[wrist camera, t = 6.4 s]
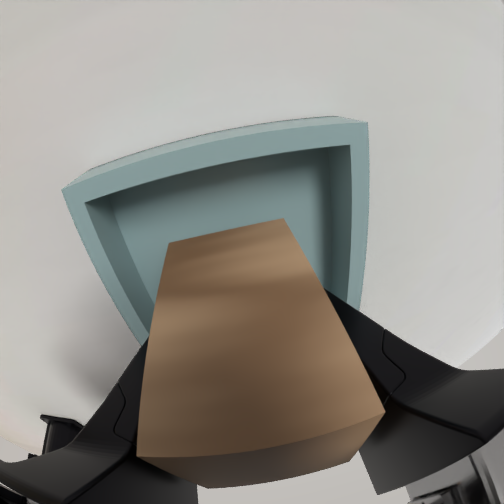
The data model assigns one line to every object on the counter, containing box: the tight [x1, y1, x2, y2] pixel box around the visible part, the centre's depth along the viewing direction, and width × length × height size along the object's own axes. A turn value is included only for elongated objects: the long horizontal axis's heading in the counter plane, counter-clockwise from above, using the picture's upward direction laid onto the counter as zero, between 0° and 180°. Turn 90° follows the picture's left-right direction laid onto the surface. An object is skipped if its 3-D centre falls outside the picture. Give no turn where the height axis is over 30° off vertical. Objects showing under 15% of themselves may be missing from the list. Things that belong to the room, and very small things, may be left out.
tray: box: [61, 116, 369, 346], centre depth 11 cm, size 10×10×2 cm
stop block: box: [137, 218, 385, 489], centre depth 7 cm, size 4×4×7 cm
